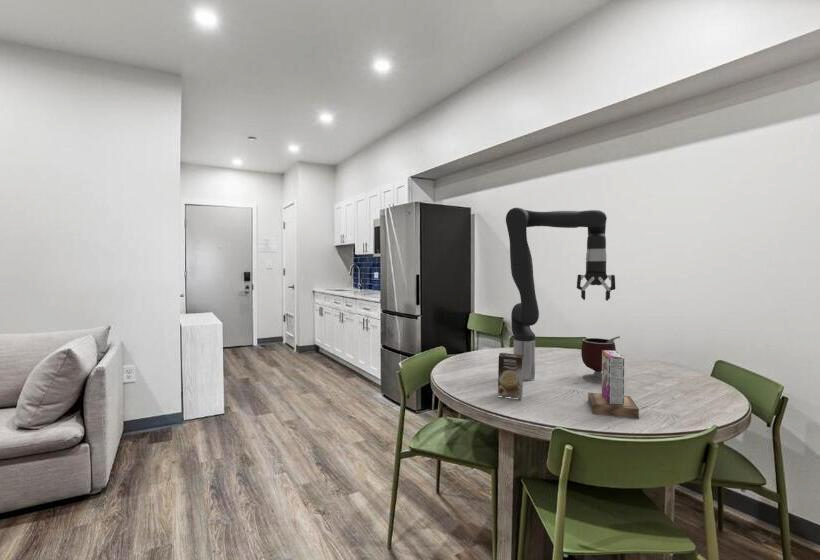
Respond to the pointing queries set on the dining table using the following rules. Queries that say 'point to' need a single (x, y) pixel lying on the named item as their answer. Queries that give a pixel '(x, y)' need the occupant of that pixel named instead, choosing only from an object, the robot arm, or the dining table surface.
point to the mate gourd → (595, 355)
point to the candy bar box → (613, 377)
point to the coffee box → (510, 375)
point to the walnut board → (612, 406)
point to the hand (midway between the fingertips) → (595, 300)
